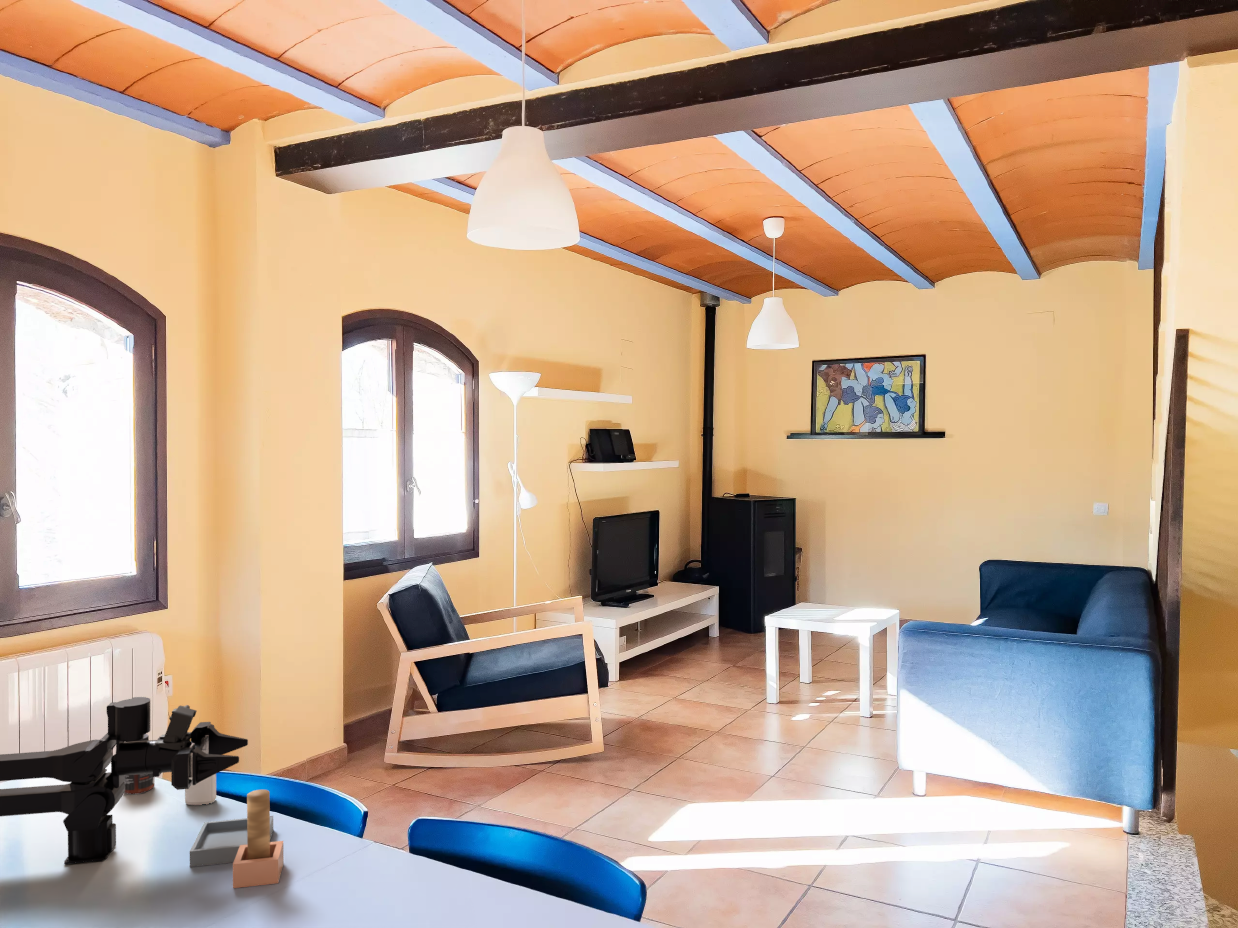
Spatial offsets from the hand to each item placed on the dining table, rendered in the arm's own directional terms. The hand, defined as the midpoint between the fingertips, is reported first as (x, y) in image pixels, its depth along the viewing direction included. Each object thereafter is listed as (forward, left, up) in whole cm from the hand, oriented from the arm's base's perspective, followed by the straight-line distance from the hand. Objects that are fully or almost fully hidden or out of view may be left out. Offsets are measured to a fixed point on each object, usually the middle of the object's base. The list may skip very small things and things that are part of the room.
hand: (243, 750), depth 162 cm
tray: (-1, -3, -17) cm, 17 cm away
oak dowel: (+5, -15, -17) cm, 23 cm away
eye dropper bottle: (-11, +20, -17) cm, 29 cm away
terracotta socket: (+5, -15, -17) cm, 23 cm away
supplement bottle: (-25, +30, -17) cm, 43 cm away
